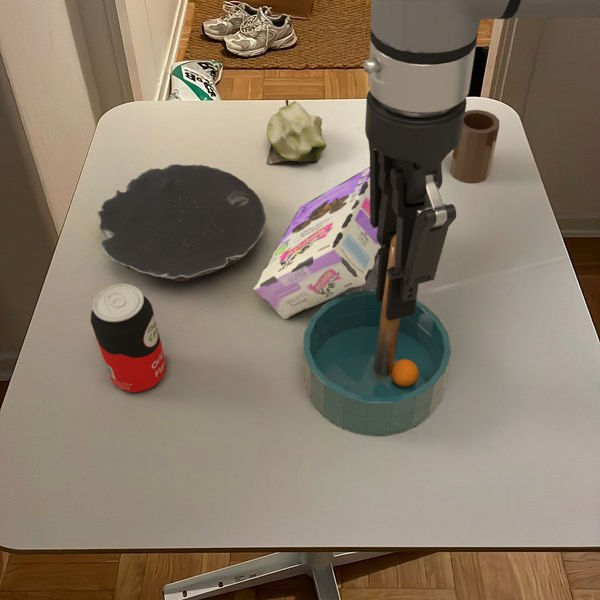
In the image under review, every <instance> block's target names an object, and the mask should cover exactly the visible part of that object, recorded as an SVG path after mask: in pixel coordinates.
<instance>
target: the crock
mask: <svg viewBox="0 0 600 600" xmlns="http://www.w3.org/2000/svg"><path fill="white" fill-rule="evenodd" d="M499 129H500V119H499V118H498V117H497V116H496V115H495V114H493V113H492V112H489V111H487V110H481V109H470V110H465V116H464V122H463V129H462V135H461V139H460V141H459V143H458V145H457V146H456V147H455V148H454V149H453V150H452V151H451V159H450V164H449V165H450V166H449V173H450V175H451V176H452V177H453V179H455V180H457V181H459V182H460V183H464V184H478V183H479V184H480V183H483V182H485V181H486V180H487V179H488V178H489V176H490V175H491V169H492V164H493V160H494V155H495V149H496V145H497V139H498V135H499Z"/></svg>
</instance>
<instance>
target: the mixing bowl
mask: <svg viewBox="0 0 600 600" xmlns="http://www.w3.org/2000/svg"><path fill="white" fill-rule="evenodd" d="M382 303H383V301H380V302H378V300H377V298H376V290H375V289H373V290H371V289H370V290H369V289H367V290H366V289H365V290H364V289H362V290H358V291H353V292H349V293H344V294H341V295H339V296H337V297H335V298H334V299H331V300H330V301H327V302H326V303H324V305H322V307H320V308H319V310H318V311H316V313H314V314H313V315H312V316H311V318H310V320H309V322H308V324H307V327H306V328H305V331H304V333H303V380H304V385H305V390H306V392H307V396H308V397H309V400H310V399H311V400H310V401H311V403H312V405H313V406H314V408H315V407H316V408H317V409H318V410H317V409H316V408H315V409H316V410H317V411H318V413H320V415H321V416H322V417H324V416H325V417H324V418H325V419H326V418H327V419H326V420H327V421H329V420H330V421H331V422H330V421H329V422H330V423H332V422H333V423H334V424H333V423H332V424H333V425H335V426H337V427H339V428H341V429H343V428H344V429H343V430H345V429H346V430H345V431H348V430H349V431H348V432H351V433H354V432H355V434H358V433H359V434H358V435H362V434H363V435H364V436H370V435H372V437H383V436H382V435H385V436H391V435H392V434H393V435H397V434H401V433H404V432H407V431H409V430H411V428H412V429H414V428H416V427H418V426H419V425H420V424H422V423H424V421H426V420H427V419H428V418H429V417H430V416H431V415H432V414H433V413H434V412H435V410H436V409H437V407H438V406H439V404H440V402H441V400H442V397H443V392H444V388H445V385H446V381H447V377H448V371H449V366H450V360H451V355H452V349H451V348H452V347H451V341H450V335H449V332H448V331H447V329H446V327H445V326H444V323H443V322H442V321H441V319H440V317H439V316H437V315H436V314H435V313H434V312H433V311H432V310H431V309H429V308H428V306H427V305H425V304H424V303H422V302H419V301H418V300H416V306H415V314H414V315H410V316H406V317H402V318H401V320H400V326H399V332H398V338H397V344H396V350H395V356H394V361H393V365H394V364H395V363H396V362H397V361H399V360H402V359H407V360H410V361H412V362H414V363H415V364H416V366H417V368H418V371H419V376H418V379H417V381H416V382H415V383H414V384H413V385H411V386H409V387H401V386H399V385H397V384H396V383H395V382H394V381H393V380H392V377H391V374H390V375H389V376H388V377H386V378H380V377H378V376H377V375H376V374H375V373H374V361H375V353H376V346H377V339H378V332H379V324H380V317H381V310H382ZM415 426H416V427H415ZM413 427H414V428H413ZM408 429H409V430H408ZM406 430H407V431H406Z"/></svg>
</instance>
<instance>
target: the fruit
mask: <svg viewBox="0 0 600 600" xmlns="http://www.w3.org/2000/svg"><path fill="white" fill-rule="evenodd" d="M285 104H286V105H285V106H282V107H280V108H279V109H278V111H277V113H275V114H273V115H272V116H271V117H270V119H269V120H268V123H267V126H266V137H267V140H268V142H269V144H270V146H269V150H268V155H267V159H266V164H267V165H272V164H277V163H281V162H285V161H295V162H300V163H309V162H316V161H317V160H319V158H320V156H321V153H322V152H323V151H324V150H326V147H327V143H326V141H325V139H324V137H323V135H322V134H323V129H322V126H323V125H322V124H323V118H322V117H321V116H319V115H311V114H310V113H308V112H307V110H306V109H305V108H304V107H303V106H302V105H301V104H300V103H298V101H292V102H291V103H290V104H289V99H285Z"/></svg>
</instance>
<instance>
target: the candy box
mask: <svg viewBox="0 0 600 600" xmlns="http://www.w3.org/2000/svg"><path fill="white" fill-rule="evenodd" d="M379 214H380V211H379ZM377 229H378V227H376V228H373V227H372V226H371V223H370V166H369V167H366V168H365V169H363V170H361V171H359V172H358V173H356V174H355V175H353V176H350V178H348V179H346V180H344V181H342V182H340V183H339V184H337V185H335V186H334V187H332V188H331V189H328V190H327V191H326V192H324V193H322V194H320V195H318V196H317V197H314V198H312V200H310V201H308V202H306V203H305V204H303V205H301V206H299V208H298V210H297V211H296V213H295V215H294V216H293V218H292V220H291V222H290V224H289V225H288V228H286V231H285V232H284V234H283V236H282V237H281V239H280V242H279V243H278V245H277V247H276V249H275V250H274V252H273V254H272V255H271V257H270V259H269V261H268V263H267V264H266V266H265V267H264V269H263V271H262V273H261V275H260V276H259V278H258V280H257V282H256V283H255V285H254V286H253V290H254V291H255V292H256V293H257V295H259V296H260V297H261V299H263V300H264V301H265V302H266V303H267V304H268V306H270V307H271V308H272V309H273V310H274V311H275V312H276V313H277V314H278V315H279V316H280V317H281V319H282V320H284V321H285V320H287V319H289V318H290V317H292V316H294V315H297V314H299V313H301V312H303V311H306V310H308V309H310V308H314V307H316V306H318V305H320V304H322V303H324V302H328V301H329V300H333V298H334V299H335V298H337V297H339V296H341V295H344V294H346V293H348V292H349V291H352V290H354V289H356V288H358V287H361V286H362V287H363V286H364V285H367V282H368V280H369V278H370V275H371V273H372V271H373V269H374V267H375V264H376V262H377V260H378V259H379V249H380V248H381V245H379V243H378V241H377V237H376V236H377Z"/></svg>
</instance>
